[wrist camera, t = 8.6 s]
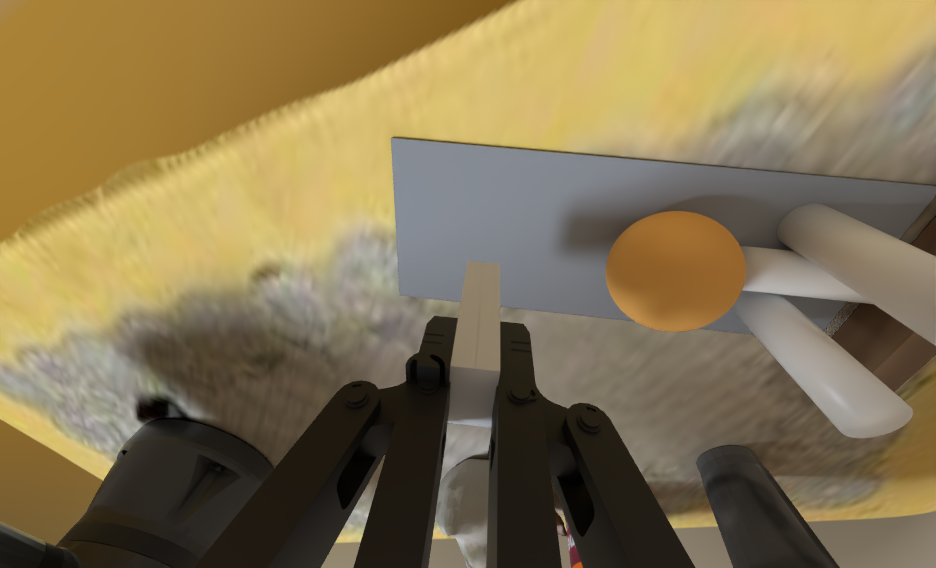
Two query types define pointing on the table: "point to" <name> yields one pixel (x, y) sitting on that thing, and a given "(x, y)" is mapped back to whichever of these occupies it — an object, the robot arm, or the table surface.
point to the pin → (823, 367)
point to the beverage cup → (757, 514)
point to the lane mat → (595, 218)
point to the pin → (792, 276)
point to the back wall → (888, 335)
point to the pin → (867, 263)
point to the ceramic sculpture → (469, 509)
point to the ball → (675, 271)
